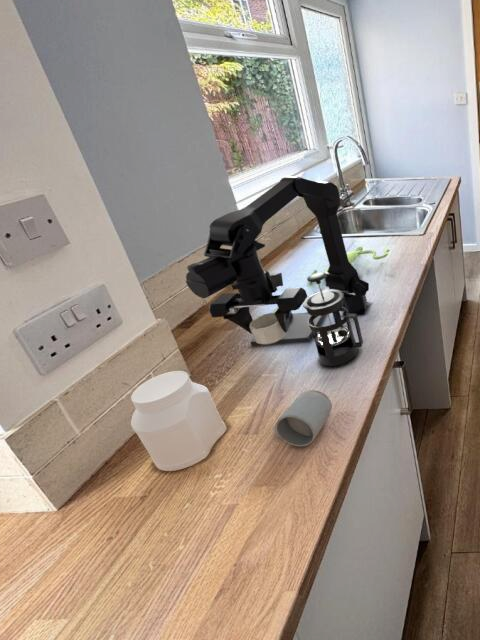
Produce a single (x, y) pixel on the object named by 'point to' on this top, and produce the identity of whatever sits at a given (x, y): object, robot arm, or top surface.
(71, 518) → the top surface
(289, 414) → the ceramic mug
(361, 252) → the figurine
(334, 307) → the french press
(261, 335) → the cup
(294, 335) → the scale
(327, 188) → the robot arm
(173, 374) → the jar
